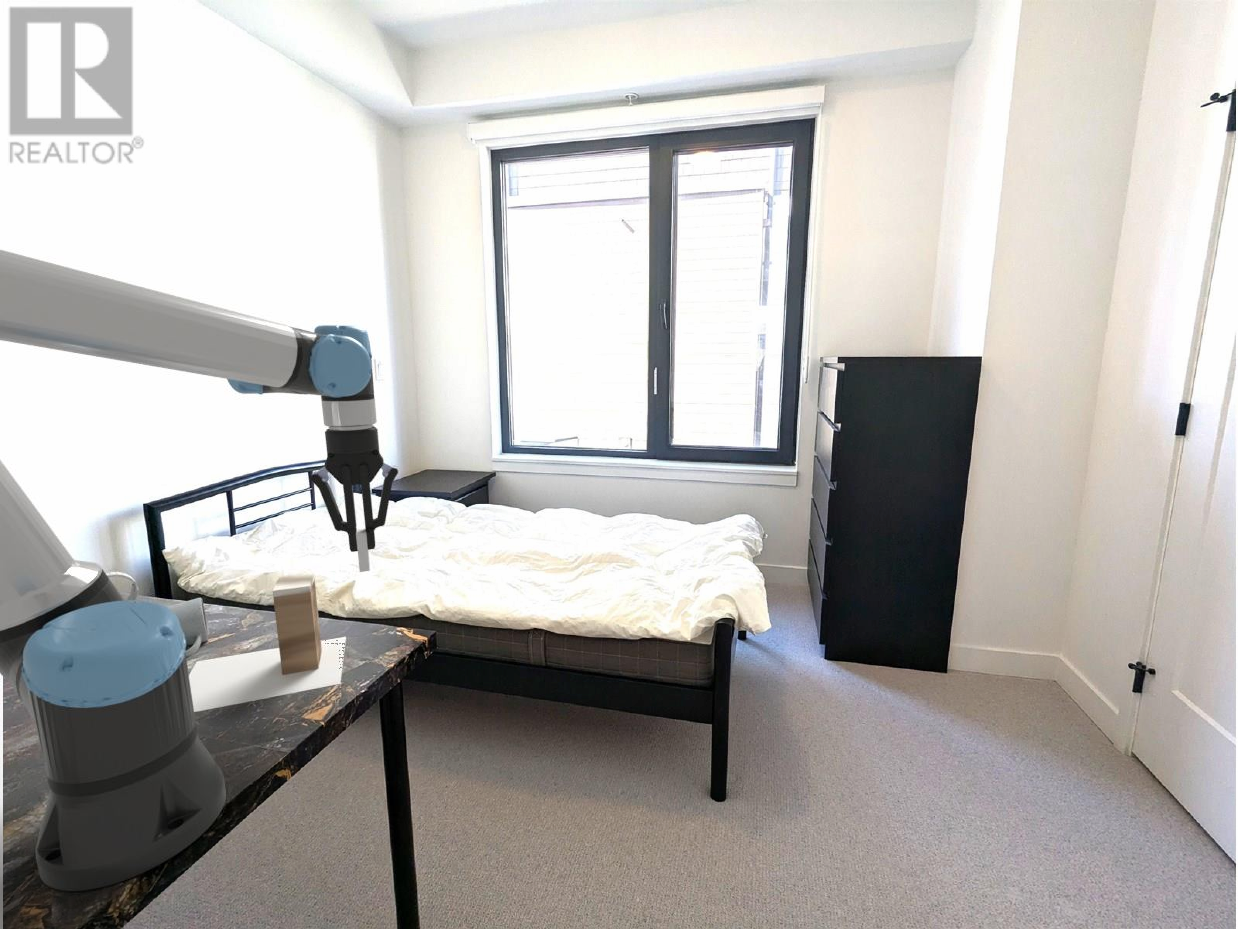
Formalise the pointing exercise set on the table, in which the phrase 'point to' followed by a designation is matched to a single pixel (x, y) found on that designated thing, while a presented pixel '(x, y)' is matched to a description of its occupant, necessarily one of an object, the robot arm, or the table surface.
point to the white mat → (259, 677)
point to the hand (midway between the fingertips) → (364, 568)
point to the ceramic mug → (192, 623)
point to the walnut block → (297, 623)
